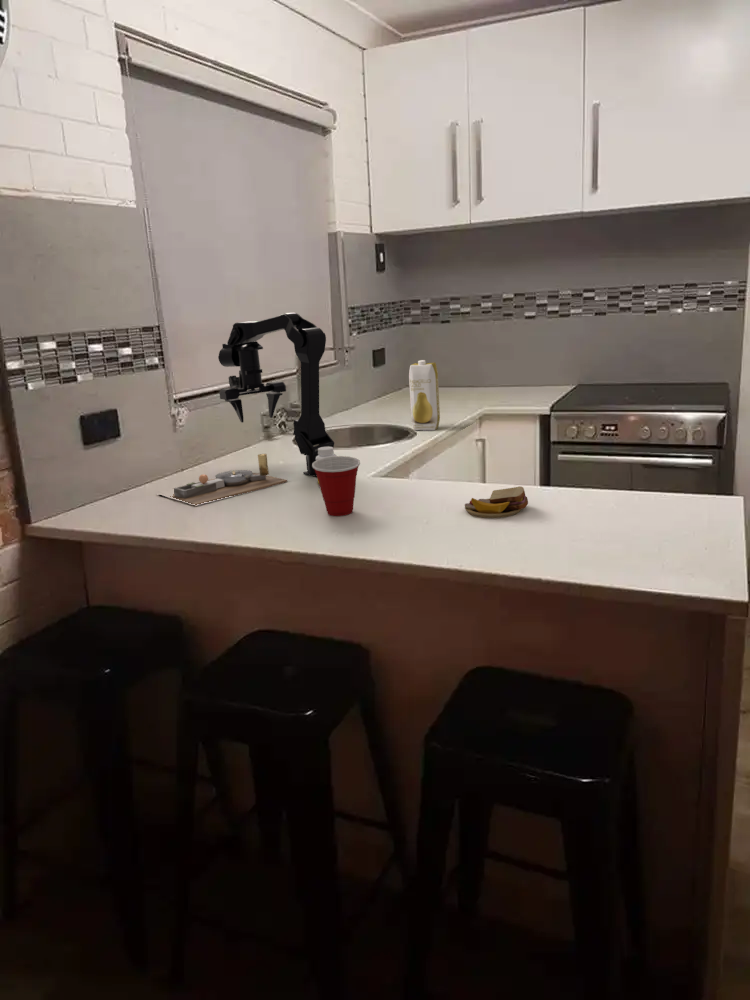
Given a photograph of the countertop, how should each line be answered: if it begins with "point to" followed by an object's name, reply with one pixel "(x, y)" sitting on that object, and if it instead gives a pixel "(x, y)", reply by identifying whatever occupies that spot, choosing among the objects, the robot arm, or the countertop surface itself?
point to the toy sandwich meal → (499, 503)
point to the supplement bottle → (325, 454)
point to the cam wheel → (245, 474)
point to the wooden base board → (221, 490)
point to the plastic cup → (337, 483)
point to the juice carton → (424, 395)
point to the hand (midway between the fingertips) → (256, 420)
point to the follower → (204, 481)
